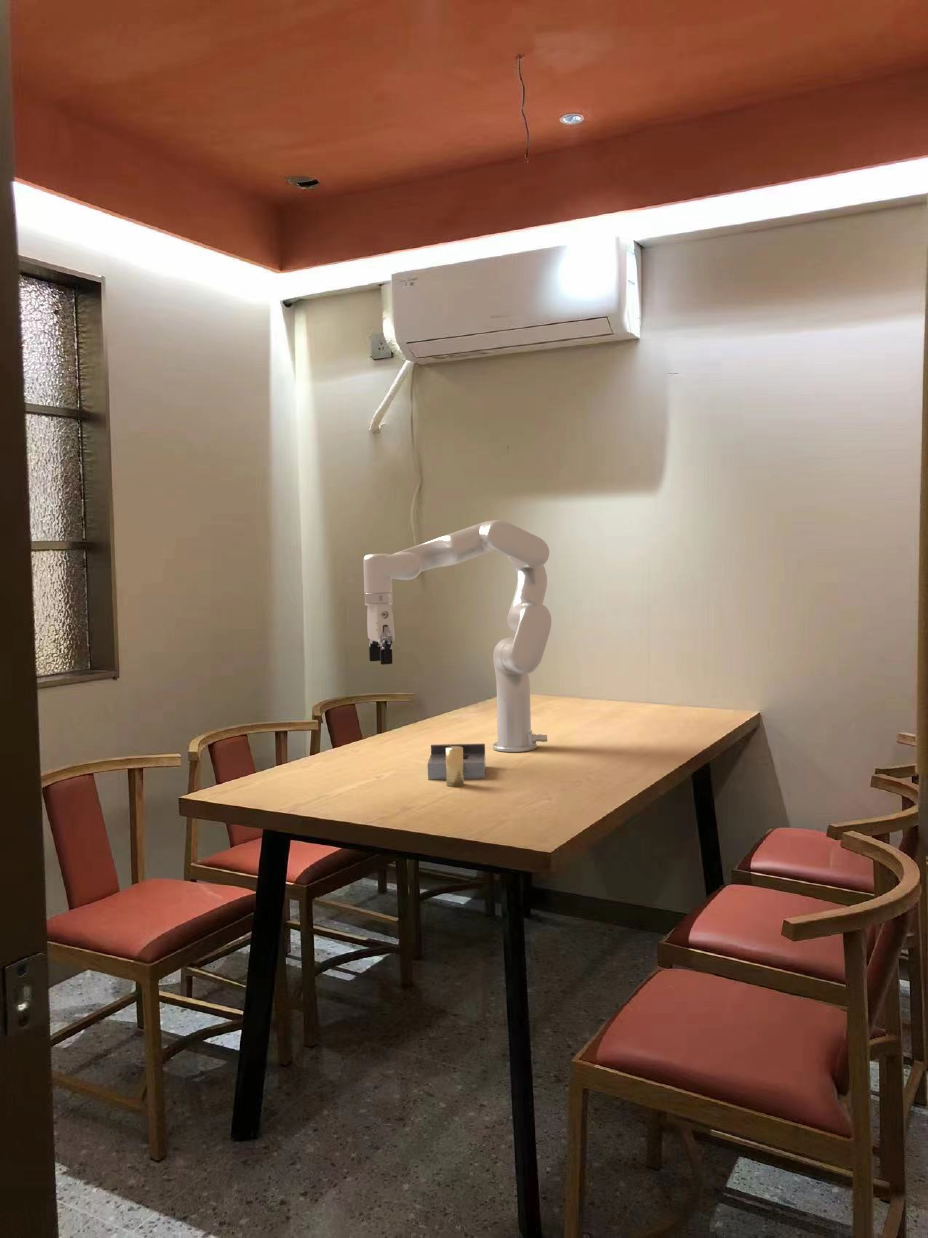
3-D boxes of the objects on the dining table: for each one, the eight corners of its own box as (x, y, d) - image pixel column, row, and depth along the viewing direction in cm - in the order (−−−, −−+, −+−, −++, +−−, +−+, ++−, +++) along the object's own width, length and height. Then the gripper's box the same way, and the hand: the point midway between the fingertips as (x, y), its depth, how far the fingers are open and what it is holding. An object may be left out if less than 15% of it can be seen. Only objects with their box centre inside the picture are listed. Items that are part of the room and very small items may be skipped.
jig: (485, 766, 254) (484, 743, 254) (484, 778, 240) (483, 754, 240) (432, 767, 255) (431, 744, 255) (428, 779, 241) (427, 755, 241)
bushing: (464, 782, 237) (463, 746, 236) (463, 786, 233) (462, 749, 232) (447, 783, 237) (445, 746, 236) (446, 787, 233) (445, 749, 232)
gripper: (402, 599, 256) (404, 664, 257) (381, 598, 272) (384, 658, 273) (375, 601, 253) (377, 666, 255) (356, 599, 269) (358, 660, 270)
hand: (380, 662), depth 264 cm, fingers open, 9 cm apart
